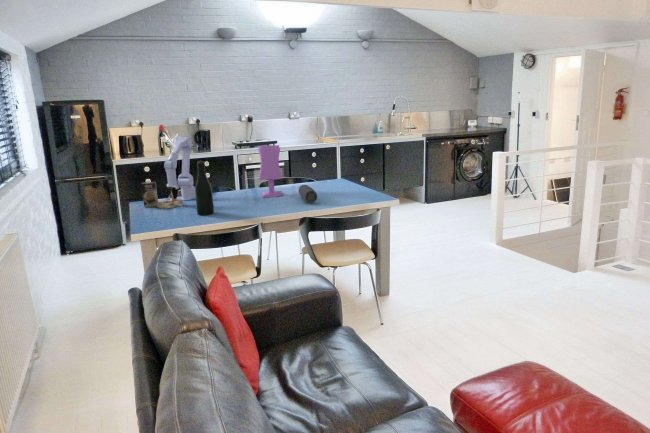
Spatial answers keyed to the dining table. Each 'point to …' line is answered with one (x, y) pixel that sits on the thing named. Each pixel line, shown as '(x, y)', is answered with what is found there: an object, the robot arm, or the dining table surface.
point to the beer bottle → (203, 192)
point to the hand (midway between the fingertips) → (174, 198)
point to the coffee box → (149, 194)
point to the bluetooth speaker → (307, 193)
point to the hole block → (169, 204)
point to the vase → (270, 168)
